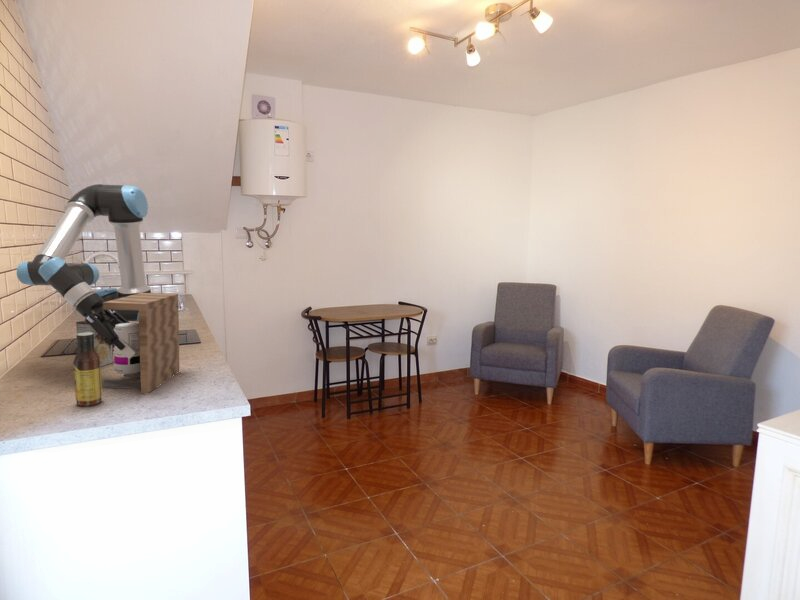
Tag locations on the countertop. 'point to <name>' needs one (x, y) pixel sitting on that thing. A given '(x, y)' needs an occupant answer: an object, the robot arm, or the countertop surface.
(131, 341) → the supplement can
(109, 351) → the coffee box
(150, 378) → the overhang shelf
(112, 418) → the countertop surface
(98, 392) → the sauce bottle
